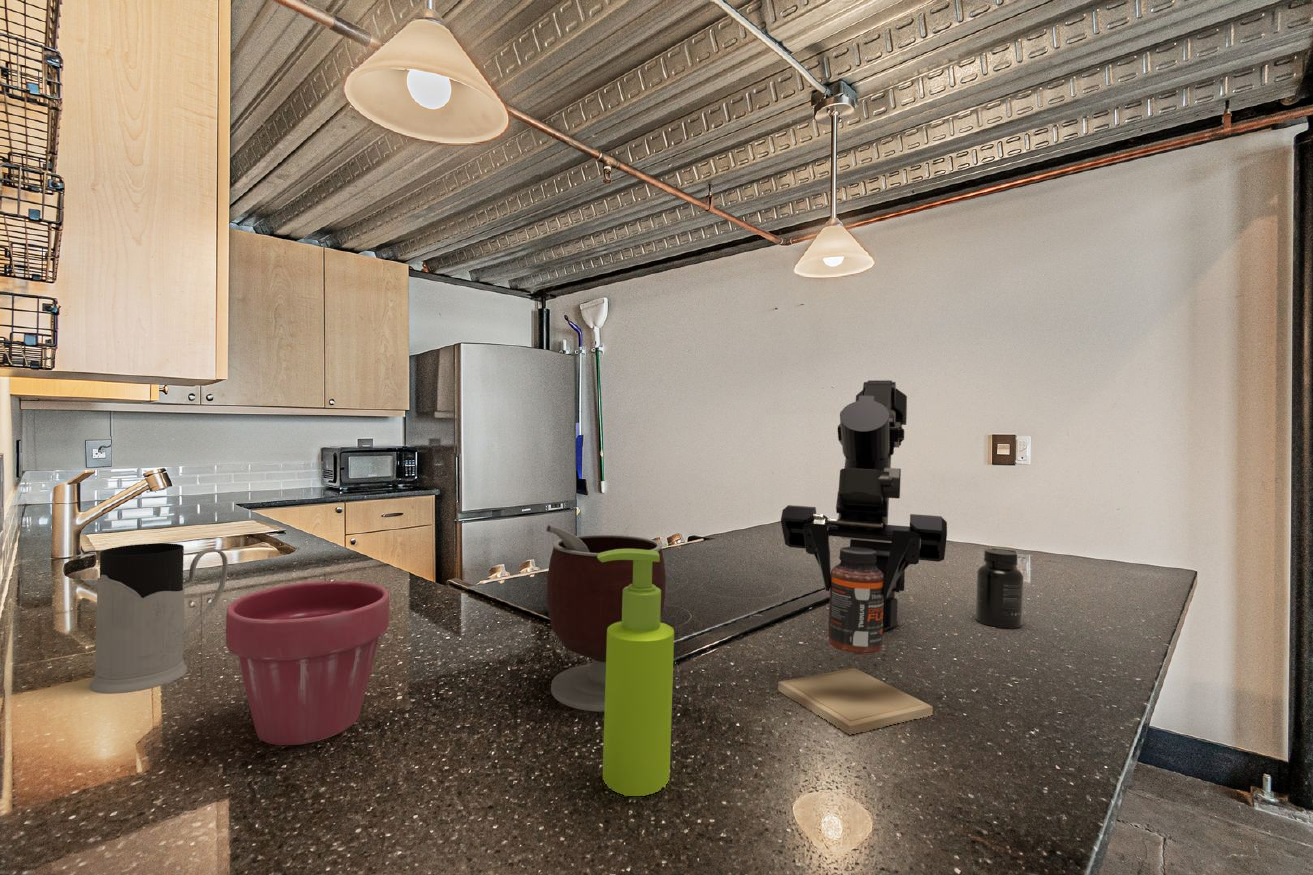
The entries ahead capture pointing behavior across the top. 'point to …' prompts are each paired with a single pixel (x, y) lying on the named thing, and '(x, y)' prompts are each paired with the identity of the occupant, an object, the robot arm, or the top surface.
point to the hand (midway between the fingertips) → (855, 592)
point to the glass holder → (143, 616)
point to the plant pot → (306, 655)
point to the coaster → (854, 700)
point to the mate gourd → (590, 606)
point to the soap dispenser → (638, 685)
